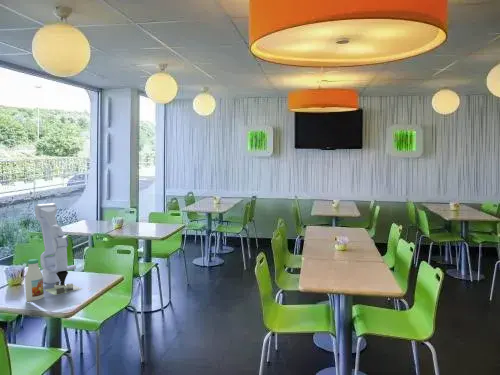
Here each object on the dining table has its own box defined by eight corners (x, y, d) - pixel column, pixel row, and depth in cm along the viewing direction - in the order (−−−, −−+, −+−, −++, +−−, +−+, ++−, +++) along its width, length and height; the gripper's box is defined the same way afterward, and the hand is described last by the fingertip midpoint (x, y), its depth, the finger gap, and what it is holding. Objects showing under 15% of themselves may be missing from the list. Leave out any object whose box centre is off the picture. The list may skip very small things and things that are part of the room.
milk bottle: (25, 303, 206) (23, 262, 204) (26, 298, 213) (24, 258, 211) (43, 301, 209) (41, 260, 207) (44, 296, 216) (42, 257, 215)
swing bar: (74, 288, 224) (74, 282, 224) (70, 290, 221) (70, 284, 221) (57, 287, 227) (57, 281, 226) (53, 289, 224) (53, 282, 223)
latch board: (44, 292, 223) (44, 285, 223) (71, 285, 233) (70, 279, 233) (55, 297, 214) (54, 290, 214) (82, 290, 224) (82, 283, 224)
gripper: (50, 263, 217) (52, 290, 218) (78, 258, 228) (79, 283, 229) (44, 261, 222) (45, 287, 223) (72, 256, 233) (73, 281, 234)
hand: (62, 285), depth 226 cm, fingers closed, pressing on swing bar
